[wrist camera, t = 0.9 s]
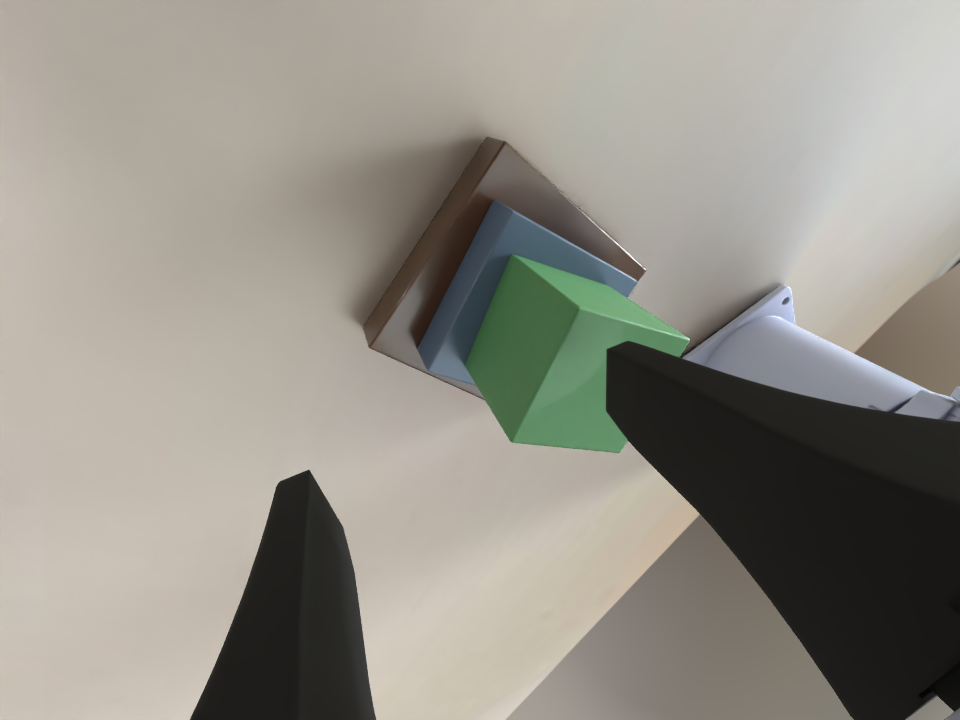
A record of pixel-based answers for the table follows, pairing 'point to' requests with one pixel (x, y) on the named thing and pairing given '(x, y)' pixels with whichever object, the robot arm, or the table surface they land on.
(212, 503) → the table surface
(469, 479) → the table surface
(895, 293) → the table surface
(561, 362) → the green cube
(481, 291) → the middle block
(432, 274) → the base slab
